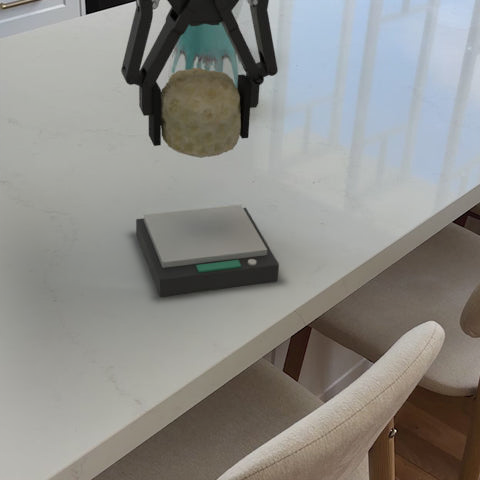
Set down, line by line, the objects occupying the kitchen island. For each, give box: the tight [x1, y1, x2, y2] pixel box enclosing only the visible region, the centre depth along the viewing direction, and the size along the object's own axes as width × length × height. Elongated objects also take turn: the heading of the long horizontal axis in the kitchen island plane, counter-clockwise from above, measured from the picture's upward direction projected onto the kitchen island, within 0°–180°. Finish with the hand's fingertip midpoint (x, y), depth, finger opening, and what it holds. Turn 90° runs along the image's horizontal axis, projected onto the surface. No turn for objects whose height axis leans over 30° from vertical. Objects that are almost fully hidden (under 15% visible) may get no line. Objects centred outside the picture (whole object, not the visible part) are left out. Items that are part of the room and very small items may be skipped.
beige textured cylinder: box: [161, 68, 241, 159], centre depth 98 cm, size 9×10×10 cm
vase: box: [167, 23, 244, 88], centre depth 136 cm, size 12×12×18 cm
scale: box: [135, 204, 280, 298], centre depth 105 cm, size 14×13×3 cm
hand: (198, 136), depth 100 cm, fingers closed on beige textured cylinder, 9 cm apart
